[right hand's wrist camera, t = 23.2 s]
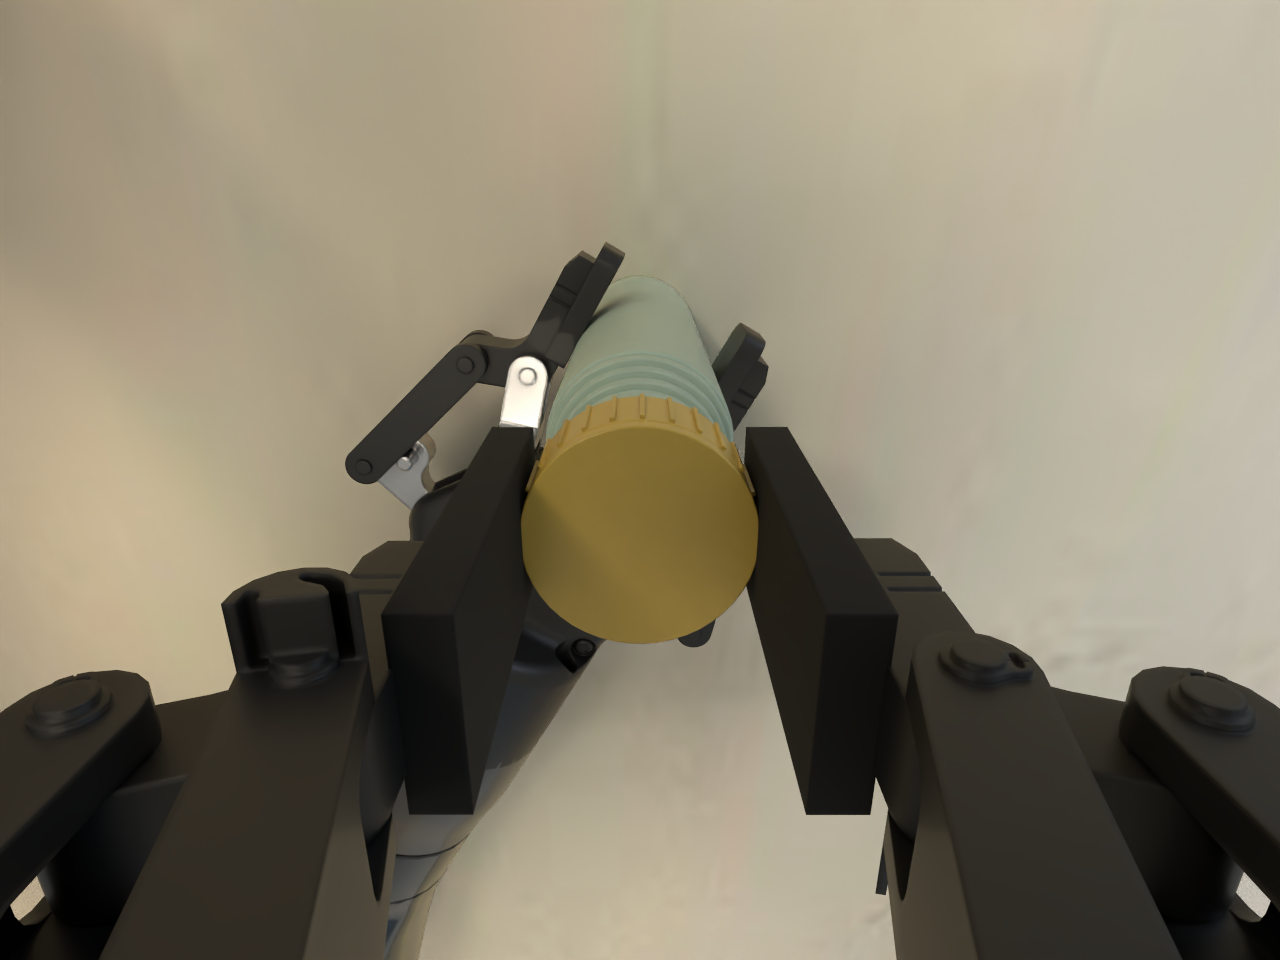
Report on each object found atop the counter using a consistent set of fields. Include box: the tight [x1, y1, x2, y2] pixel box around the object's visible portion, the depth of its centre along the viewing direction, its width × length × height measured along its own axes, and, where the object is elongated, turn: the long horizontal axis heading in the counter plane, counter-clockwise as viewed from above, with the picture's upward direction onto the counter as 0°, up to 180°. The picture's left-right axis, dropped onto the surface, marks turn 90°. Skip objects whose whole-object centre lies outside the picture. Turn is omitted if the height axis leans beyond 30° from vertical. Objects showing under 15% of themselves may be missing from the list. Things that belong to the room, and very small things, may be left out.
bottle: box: [546, 276, 734, 443], centre depth 22 cm, size 4×4×18 cm
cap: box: [521, 393, 759, 644], centre depth 14 cm, size 4×4×2 cm
